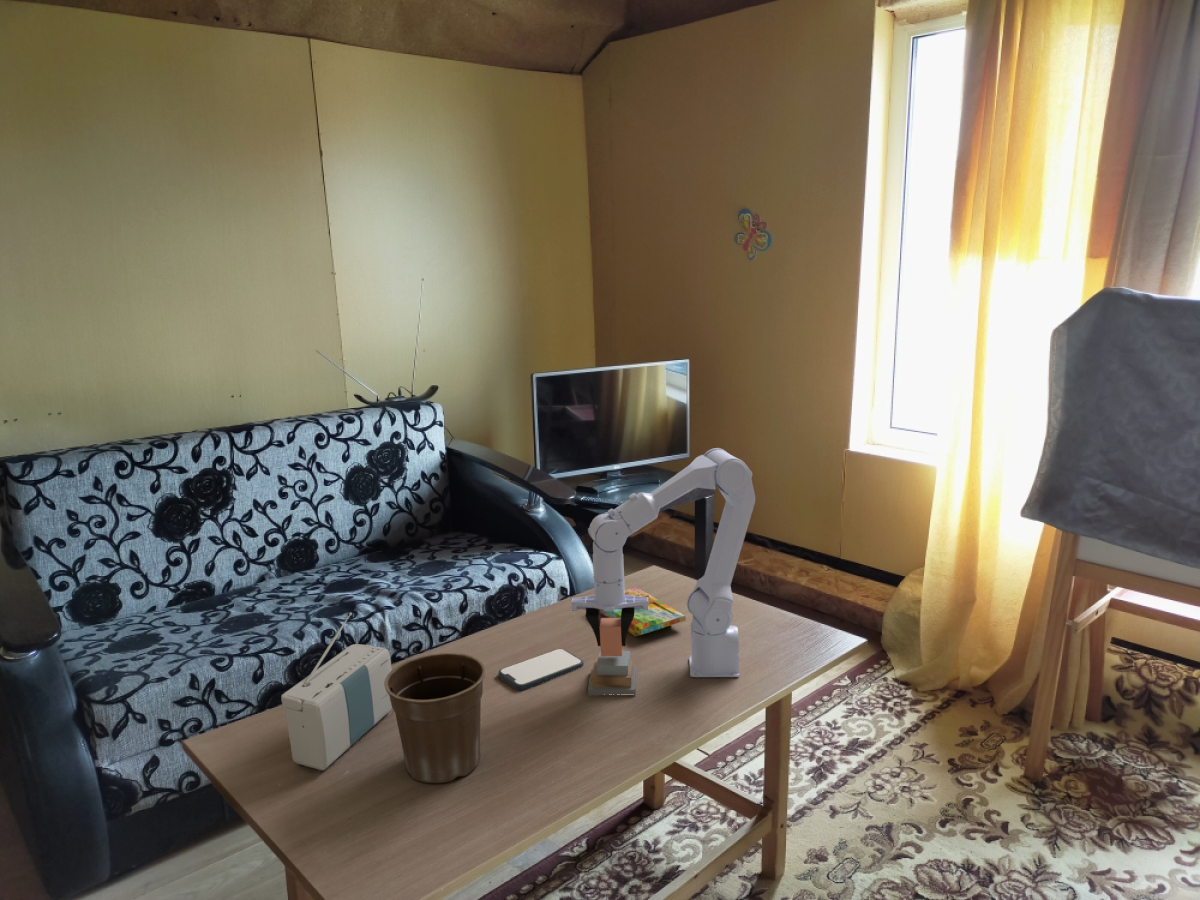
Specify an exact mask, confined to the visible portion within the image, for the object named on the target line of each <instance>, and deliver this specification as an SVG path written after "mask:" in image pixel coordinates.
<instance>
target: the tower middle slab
mask: <svg viewBox="0 0 1200 900" xmlns="http://www.w3.org/2000/svg"><path fill="white" fill-rule="evenodd" d="M630 660H631V661H630V667H629V673H628V675H597V669H596V665H597V661H598V658H595V659H594V662H593V666H592V667H593V673H592V687H632V675H633V666H634V660H633V658H630Z"/></svg>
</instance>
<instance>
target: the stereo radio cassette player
mask: <svg viewBox="0 0 1200 900" xmlns="http://www.w3.org/2000/svg"><path fill="white" fill-rule="evenodd" d="M352 615H353V613H352V612H349V613H348V616H347V617H346V619H345V620H344V622H343V624H342V625H341V627H340V628H339V629H338V631H337V632H336V633H335V635H334V637H333V638H332V640H331V641H330V643H329V644H328V645H327V648H326V649H325V651H324V652H323V654H322V656H321V657H320V659H319V660H318V662H317V663H316V665H315V666H314V668H313V670H311V673H310V674H309V675H307V676H306V677H305V678H303V679H302V680H301V681H299V682H297V684H295V685H293V687H291V688H289V689H287V690H286V691H285V692H284V693H283V694H281V698H280V699H281V703H282V706H283V708H284V709H285V714H286V715H285V716H286V721H287V728H288V729H287V731H288V736H289V743H290V750H291V756H292V761H293V762H295V763H296V764H298V765H301V766H305V767H308V768H312V769H316V770H319V771H325V770H326V769H327V768H328V767H330V766H331V764H333V763H334V762H335V761H336V760H337V759H338V758H339V757H341V756H342V755H343V754H344V753H345V752H346V751H347V750H348V749H350V747H352V746H353V745H354V744H355V743H356V742H357V741H359V739H360V738H362V737H363V736H364V735H365V734H366V733H367V732H368V731H370V730H371V729H372V728H373V727H374V726H375V725H376V724H377V723H378V722H380V721H381V720H382V719H383V718H384V717H385V716H386V715H388V714H389V713H390V711H392V710H393V708H392V705H391V701H390V696H389V694H388V693H387V691H386V689H385V685H384V682H385V679H386V677H387V675H388V674H389V673H390V672H391V671H392V670H393V669H392V662H391V655H390V652H389V649H387V648H386V647H381V646H373V645H371V644H360V643H359V644H358V643H355V644H351V645H349V646H348V647H346V648H345V649H343V650H342V651H341V652H340V653H337V654H336V656H334V657H333V658H330V660H328V661H327V662H326V663H324V664H323V665H321V664H322V662H323V660H324V659H325V658H326V656H327V655H328V653H329V651H330V649H331V648H332V646H333V645H334V644H335V641H336V639H337V638H338V636H339V635H340V633H341V631H342V630H343V628H344V627H345V624H346V623H347V621H348V619H349V618H350V617H351V616H352ZM320 665H321V666H320Z"/></svg>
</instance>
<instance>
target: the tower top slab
mask: <svg viewBox="0 0 1200 900" xmlns="http://www.w3.org/2000/svg"><path fill="white" fill-rule="evenodd" d="M597 659H598V661H597V665H596V669H597V675H628V673H629V667H630V661H631V660H630V659H631V650H622V656H601V650H599V653H598V657H597Z"/></svg>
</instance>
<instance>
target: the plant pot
mask: <svg viewBox="0 0 1200 900" xmlns="http://www.w3.org/2000/svg"><path fill="white" fill-rule="evenodd" d="M485 676H486V667H485V664H484V663H483V662H482V661H481V660H480V659H478V658H476V657H475V656H472V655H469V654H465V653H461V652H460V653H459V652H439V653H431V654H426V655H421V656H417V657H415V658H411V659H409V660H407V661H405V662H403V663H400V664H399V665H397V666H396V667H395V668H393V669H392V671H391V672H390V673H389V674H388V675H387V677H386V679H385V682H384V685H385V689H386V691H387V693H388V694H389V696H390V701H391V705H392V710H393V712H394V714H395V718H396V723H397V724H396V725H397V729H398V732H399V738H400V742H401V748H402V751H403V752H402V753H403V757H404V762H405V763H404V764H405V768H406V771H407V772H408V773H409V775H410V776H411V778H413V779H414V780H416V781H418V782H421V783H426V784H443V783H445V784H446V783H450V782H453V781H454V780H455V779H456V778H458V777H465V776H467V775H469V774H470V773H471V772H472V771H473V770H475V768H476V767H477V766H478V764H479V762H480V759H481V712H482V711H481V709H482V707H481V706H482V705H481V701H482V700H481V699H482V696H483V692H484V691H483V690H484V689H483V686H484V682H483V681H484V679H485Z"/></svg>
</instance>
